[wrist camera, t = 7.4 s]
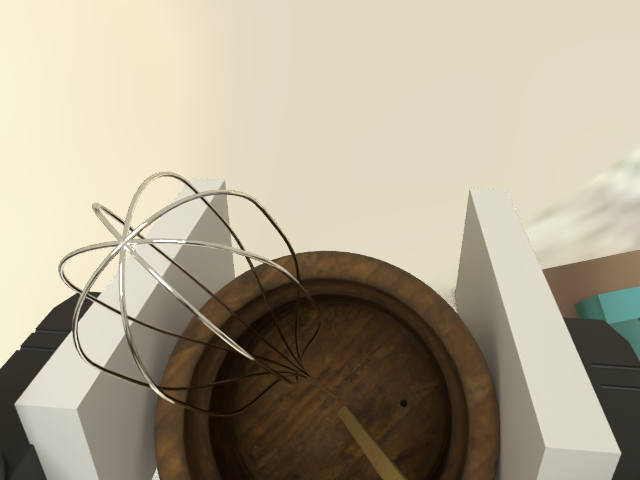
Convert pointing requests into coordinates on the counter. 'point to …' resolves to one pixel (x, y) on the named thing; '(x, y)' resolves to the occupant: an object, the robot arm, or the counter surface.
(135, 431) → the robot arm
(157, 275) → the utensil holder
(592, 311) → the cradle jig
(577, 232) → the counter surface
